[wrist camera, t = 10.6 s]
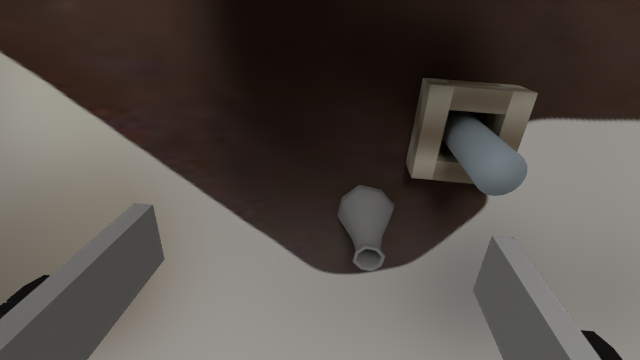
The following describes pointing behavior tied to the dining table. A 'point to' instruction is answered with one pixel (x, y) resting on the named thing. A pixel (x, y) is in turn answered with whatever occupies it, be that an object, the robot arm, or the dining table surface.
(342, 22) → the dining table surface
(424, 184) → the dining table surface
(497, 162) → the peg
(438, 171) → the socket block
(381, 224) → the flask
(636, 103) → the dining table surface
